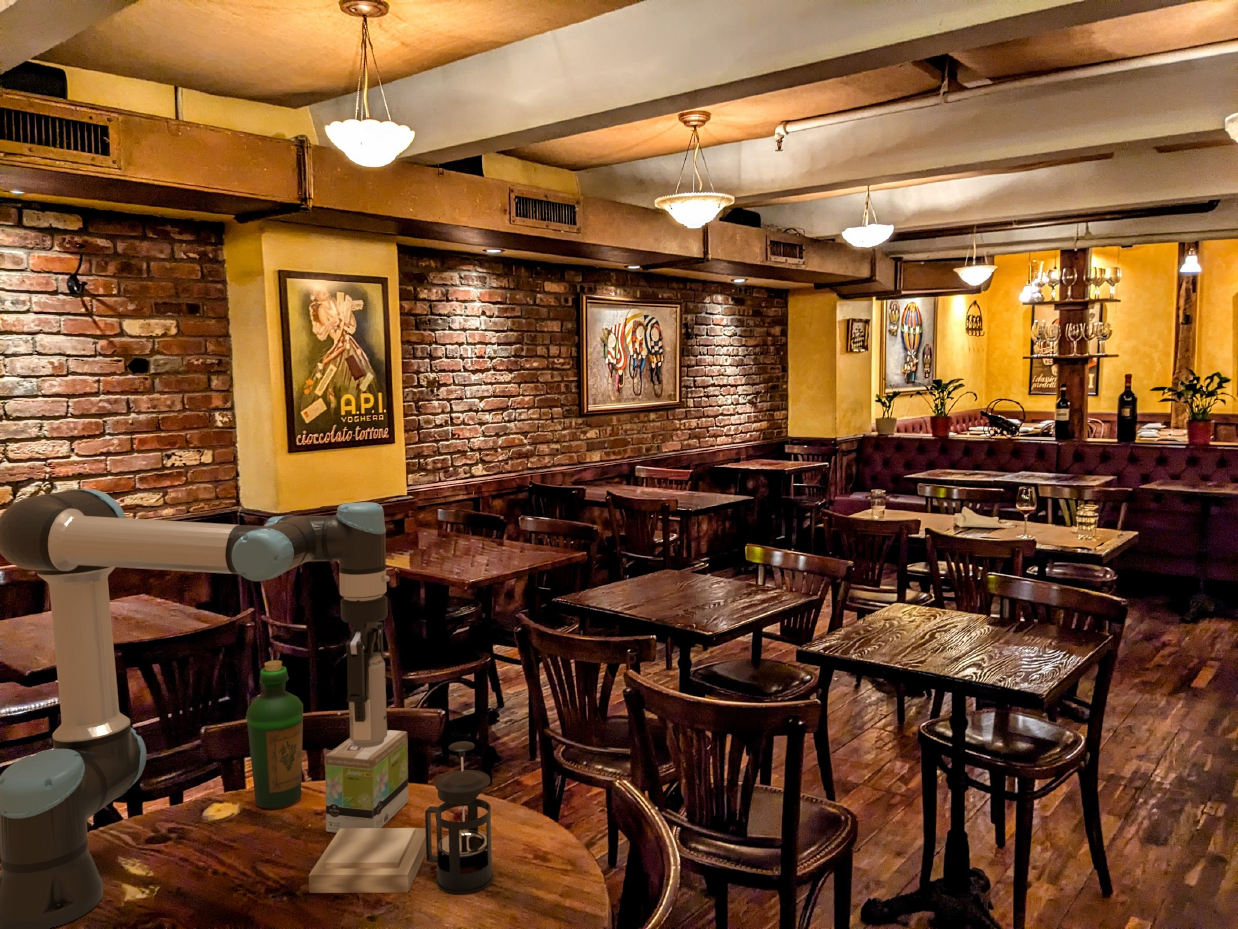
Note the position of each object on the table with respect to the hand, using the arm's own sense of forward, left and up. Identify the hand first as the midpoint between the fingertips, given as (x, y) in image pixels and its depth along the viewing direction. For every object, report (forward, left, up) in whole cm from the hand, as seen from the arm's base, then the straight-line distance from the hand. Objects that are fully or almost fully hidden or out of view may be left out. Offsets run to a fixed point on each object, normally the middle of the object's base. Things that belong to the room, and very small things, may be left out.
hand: (368, 731), depth 156 cm
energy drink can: (0, 0, -2) cm, 2 cm away
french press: (+16, -4, -24) cm, 29 cm away
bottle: (-26, +26, -24) cm, 44 cm away
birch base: (0, 0, -24) cm, 24 cm away
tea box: (-6, +19, -24) cm, 31 cm away
